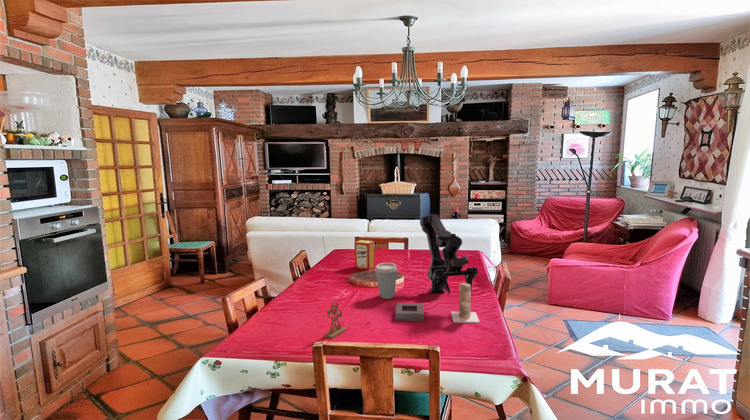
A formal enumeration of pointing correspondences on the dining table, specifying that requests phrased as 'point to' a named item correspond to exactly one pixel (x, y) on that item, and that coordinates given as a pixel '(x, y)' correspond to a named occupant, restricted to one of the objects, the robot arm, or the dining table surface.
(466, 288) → the birch peg
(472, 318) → the white mat
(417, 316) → the socket block
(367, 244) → the baking soda box
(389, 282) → the disposable coffee cup
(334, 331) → the gingerbread man figurine
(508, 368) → the dining table surface
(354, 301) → the dining table surface
